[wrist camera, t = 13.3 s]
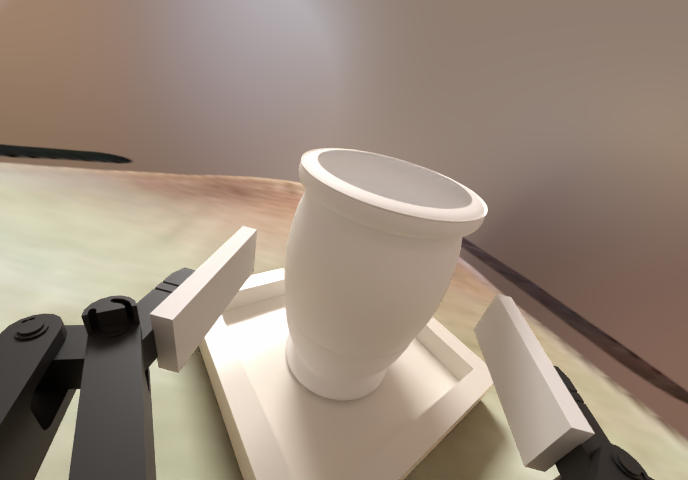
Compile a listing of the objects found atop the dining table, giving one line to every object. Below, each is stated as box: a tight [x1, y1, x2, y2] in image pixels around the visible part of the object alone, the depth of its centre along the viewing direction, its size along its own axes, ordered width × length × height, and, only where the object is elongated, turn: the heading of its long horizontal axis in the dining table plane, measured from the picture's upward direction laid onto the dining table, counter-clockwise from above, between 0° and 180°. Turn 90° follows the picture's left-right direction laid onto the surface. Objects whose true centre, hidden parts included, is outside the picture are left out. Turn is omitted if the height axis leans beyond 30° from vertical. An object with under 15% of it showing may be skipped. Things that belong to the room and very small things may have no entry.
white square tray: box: [199, 268, 494, 480], centre depth 22 cm, size 18×18×3 cm
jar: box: [284, 148, 488, 401], centre depth 19 cm, size 11×10×15 cm
